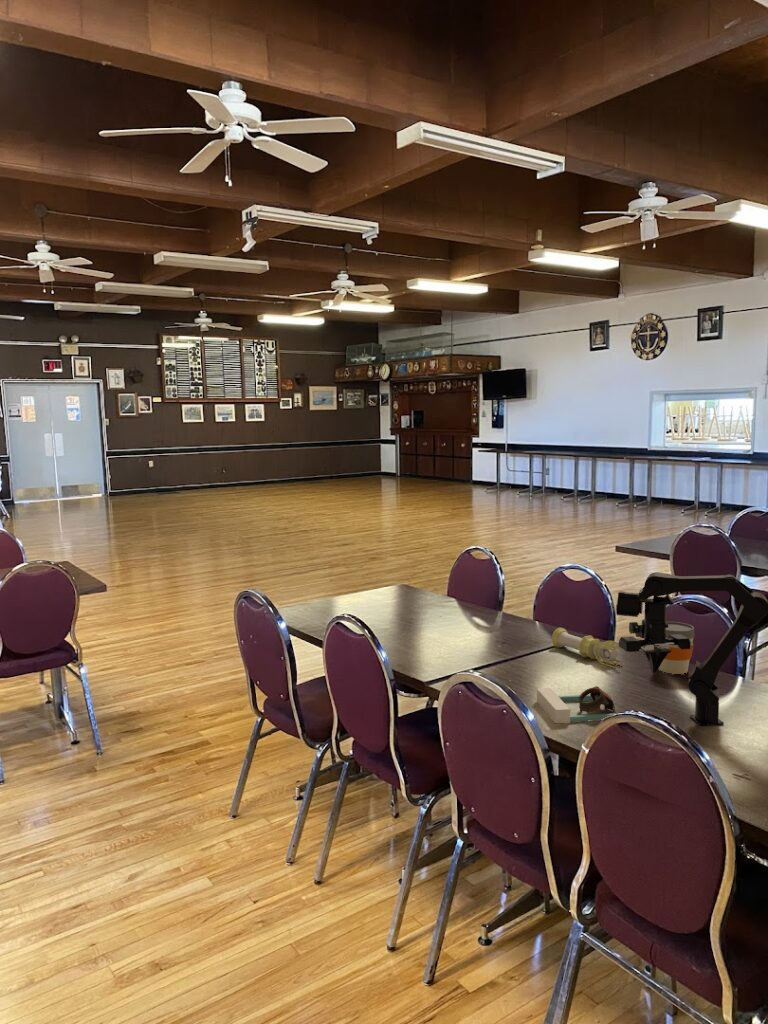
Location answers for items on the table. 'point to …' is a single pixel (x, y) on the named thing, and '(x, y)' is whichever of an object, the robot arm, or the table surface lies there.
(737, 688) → the table surface
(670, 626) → the reusable coffee cup
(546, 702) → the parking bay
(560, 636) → the trophy
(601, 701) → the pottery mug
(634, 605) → the robot arm
